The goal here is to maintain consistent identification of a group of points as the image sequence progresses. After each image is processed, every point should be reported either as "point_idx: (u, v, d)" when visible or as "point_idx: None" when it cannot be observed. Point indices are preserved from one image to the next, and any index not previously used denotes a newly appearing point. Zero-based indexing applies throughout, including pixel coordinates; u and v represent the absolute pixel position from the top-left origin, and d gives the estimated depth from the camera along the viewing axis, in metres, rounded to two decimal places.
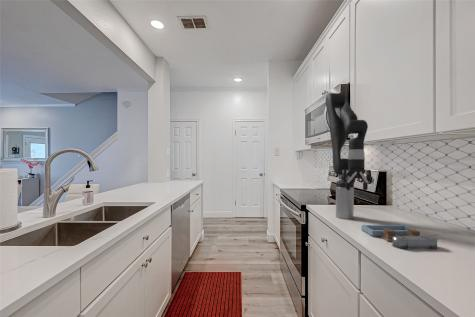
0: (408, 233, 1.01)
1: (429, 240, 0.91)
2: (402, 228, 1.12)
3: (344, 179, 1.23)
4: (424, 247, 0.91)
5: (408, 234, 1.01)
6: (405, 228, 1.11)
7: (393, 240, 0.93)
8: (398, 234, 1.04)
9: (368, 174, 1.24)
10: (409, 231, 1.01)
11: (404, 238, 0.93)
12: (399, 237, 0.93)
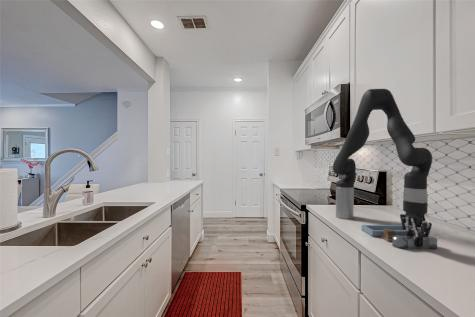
0: None
1: (429, 240, 0.91)
2: (402, 228, 1.12)
3: None
4: (424, 247, 0.91)
5: None
6: None
7: (393, 240, 0.93)
8: (398, 234, 1.04)
9: None
10: None
11: (404, 237, 0.93)
12: (399, 237, 0.93)
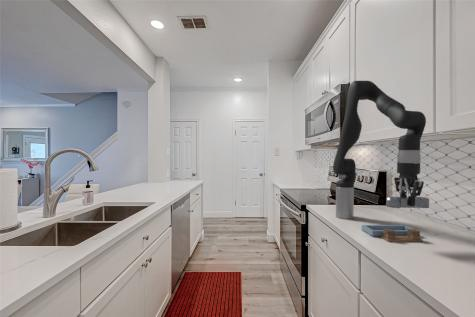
0: (408, 233, 1.01)
1: (421, 199, 0.95)
2: (402, 228, 1.12)
3: None
4: (416, 206, 0.95)
5: (408, 234, 1.01)
6: (405, 228, 1.11)
7: (387, 200, 0.97)
8: (398, 234, 1.04)
9: None
10: (409, 231, 1.01)
11: (397, 197, 0.96)
12: (393, 197, 0.97)
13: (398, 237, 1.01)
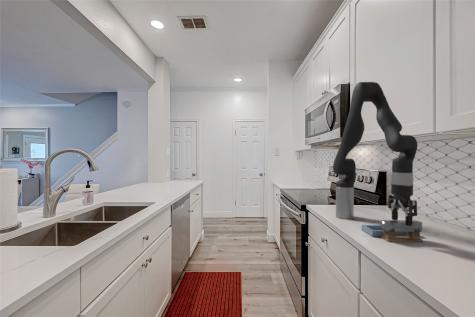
0: (408, 233, 1.01)
1: (414, 223, 0.98)
2: None
3: None
4: (410, 230, 0.98)
5: (408, 234, 1.01)
6: None
7: (381, 224, 1.01)
8: (398, 234, 1.04)
9: None
10: None
11: (391, 221, 1.00)
12: (387, 221, 1.01)
13: (398, 237, 1.01)
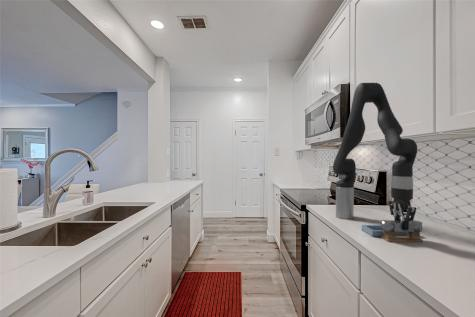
0: (408, 233, 1.01)
1: (414, 223, 0.98)
2: None
3: None
4: (410, 230, 0.98)
5: (408, 234, 1.01)
6: None
7: (381, 224, 1.01)
8: (398, 234, 1.04)
9: None
10: None
11: (391, 221, 1.00)
12: (387, 221, 1.01)
13: (398, 237, 1.01)
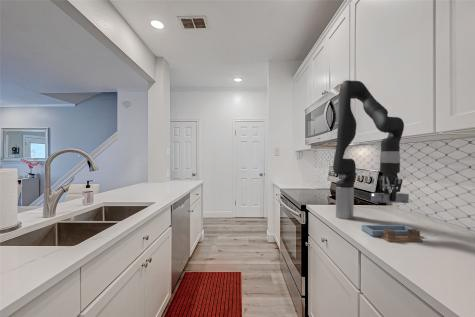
0: (408, 233, 1.01)
1: (401, 195, 1.06)
2: (402, 228, 1.12)
3: None
4: (397, 201, 1.06)
5: (408, 234, 1.01)
6: (405, 228, 1.11)
7: (371, 196, 1.08)
8: (398, 234, 1.04)
9: None
10: (409, 231, 1.01)
11: (380, 194, 1.08)
12: (376, 193, 1.08)
13: (398, 237, 1.01)
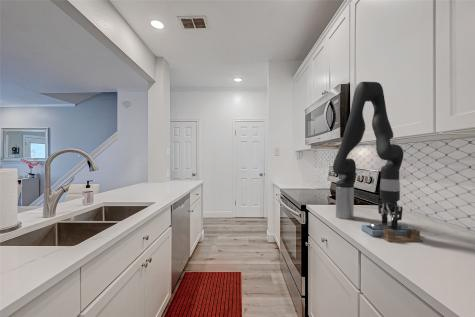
0: (408, 233, 1.01)
1: (401, 226, 1.06)
2: None
3: None
4: None
5: (408, 234, 1.01)
6: None
7: (371, 226, 1.09)
8: (398, 234, 1.04)
9: None
10: (409, 231, 1.01)
11: (380, 224, 1.08)
12: (376, 224, 1.09)
13: (398, 237, 1.01)
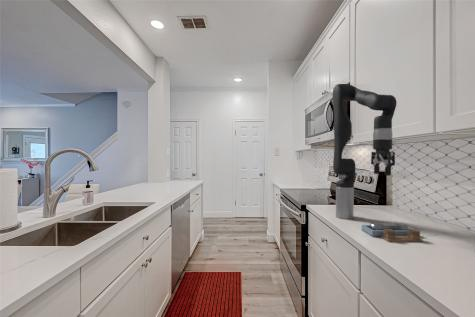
0: (408, 233, 1.01)
1: (401, 226, 1.06)
2: None
3: None
4: None
5: (408, 234, 1.01)
6: None
7: (371, 226, 1.09)
8: (398, 234, 1.04)
9: None
10: (409, 231, 1.01)
11: (380, 224, 1.08)
12: (376, 224, 1.09)
13: (398, 237, 1.01)
